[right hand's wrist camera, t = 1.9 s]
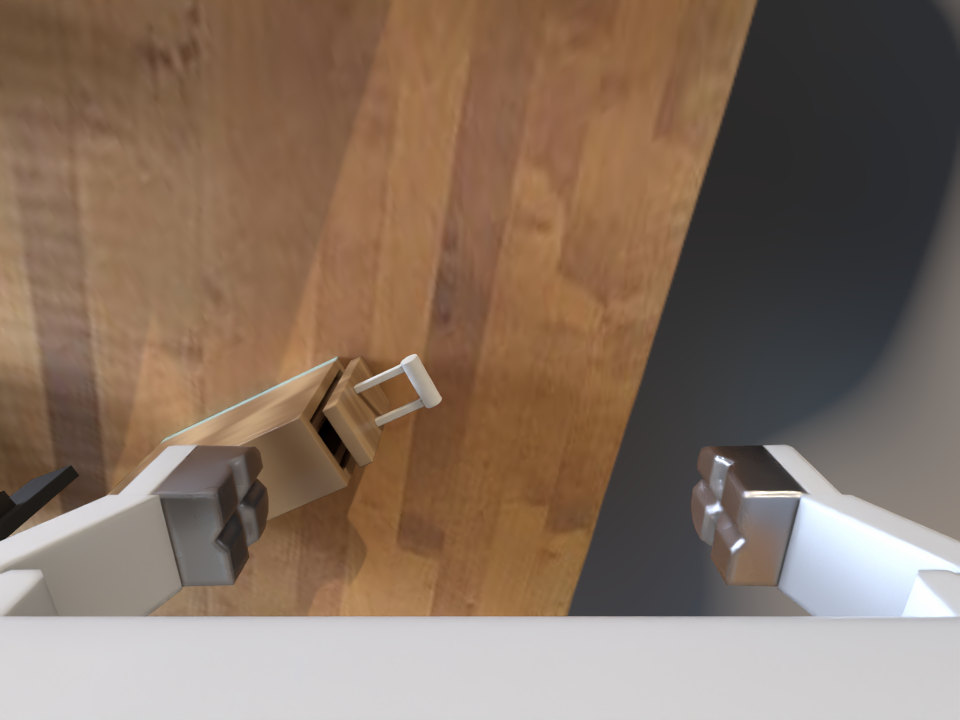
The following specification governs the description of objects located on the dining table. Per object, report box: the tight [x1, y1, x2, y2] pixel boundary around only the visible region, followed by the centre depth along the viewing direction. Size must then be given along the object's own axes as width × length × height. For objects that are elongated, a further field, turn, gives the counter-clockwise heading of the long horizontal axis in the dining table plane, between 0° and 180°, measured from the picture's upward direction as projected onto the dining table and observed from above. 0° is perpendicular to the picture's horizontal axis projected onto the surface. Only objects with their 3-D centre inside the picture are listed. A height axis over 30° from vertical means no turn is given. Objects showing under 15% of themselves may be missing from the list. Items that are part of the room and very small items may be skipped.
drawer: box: [310, 354, 442, 467], centre depth 47 cm, size 24×6×10 cm, turn 116°
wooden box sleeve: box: [106, 357, 356, 521], centre depth 48 cm, size 20×7×12 cm, turn 116°
